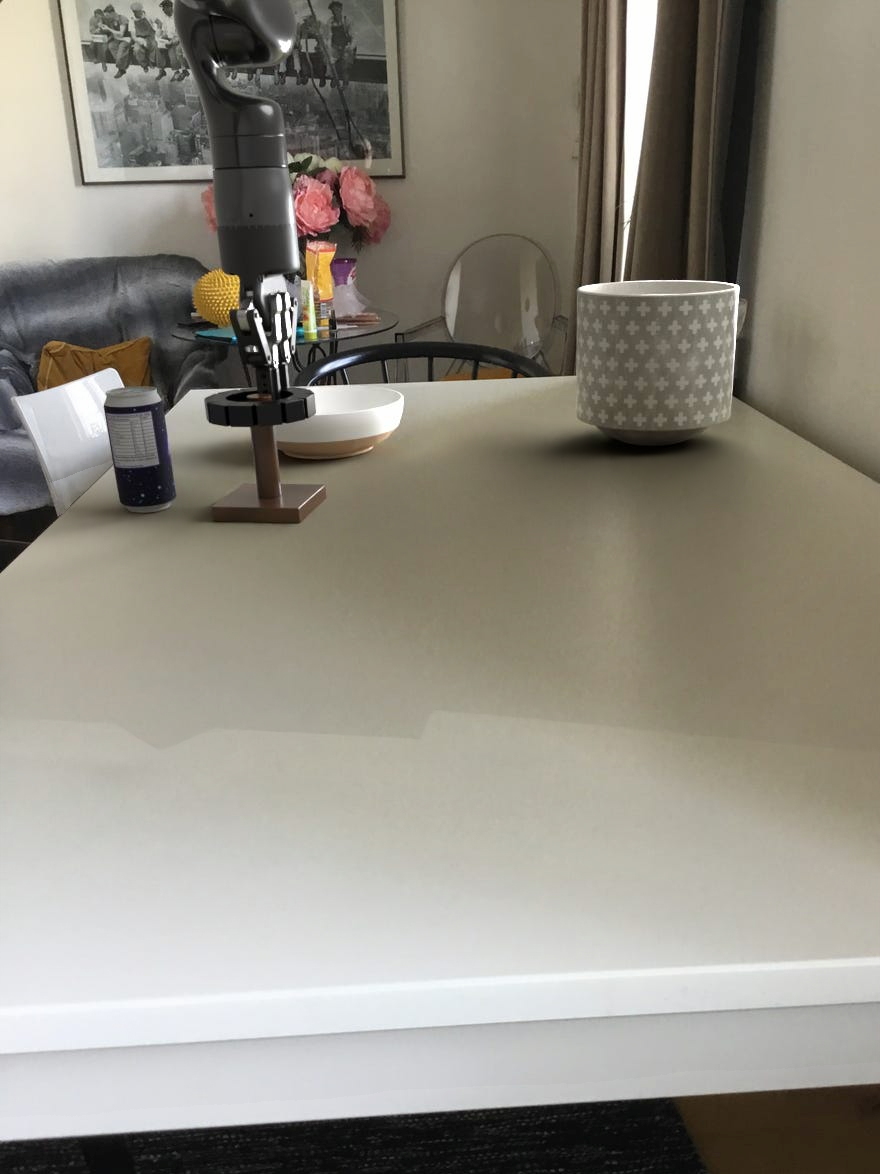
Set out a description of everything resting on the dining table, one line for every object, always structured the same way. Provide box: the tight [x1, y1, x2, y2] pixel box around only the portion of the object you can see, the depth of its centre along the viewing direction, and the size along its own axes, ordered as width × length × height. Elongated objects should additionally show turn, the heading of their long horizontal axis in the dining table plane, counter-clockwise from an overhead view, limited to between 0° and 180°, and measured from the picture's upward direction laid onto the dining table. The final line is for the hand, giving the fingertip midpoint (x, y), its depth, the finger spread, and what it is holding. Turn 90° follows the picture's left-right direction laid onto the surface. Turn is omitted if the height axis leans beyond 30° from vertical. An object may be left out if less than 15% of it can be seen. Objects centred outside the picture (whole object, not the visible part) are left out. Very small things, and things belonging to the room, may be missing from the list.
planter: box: [575, 280, 740, 447], centre depth 129 cm, size 19×19×18 cm
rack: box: [210, 394, 327, 524], centre depth 105 cm, size 9×9×12 cm
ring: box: [203, 386, 316, 428], centre depth 103 cm, size 10×10×2 cm
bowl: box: [275, 385, 404, 460], centre depth 131 cm, size 20×20×6 cm
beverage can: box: [103, 385, 177, 514], centre depth 107 cm, size 6×6×12 cm
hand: (275, 402), depth 107 cm, fingers closed on ring, 2 cm apart
